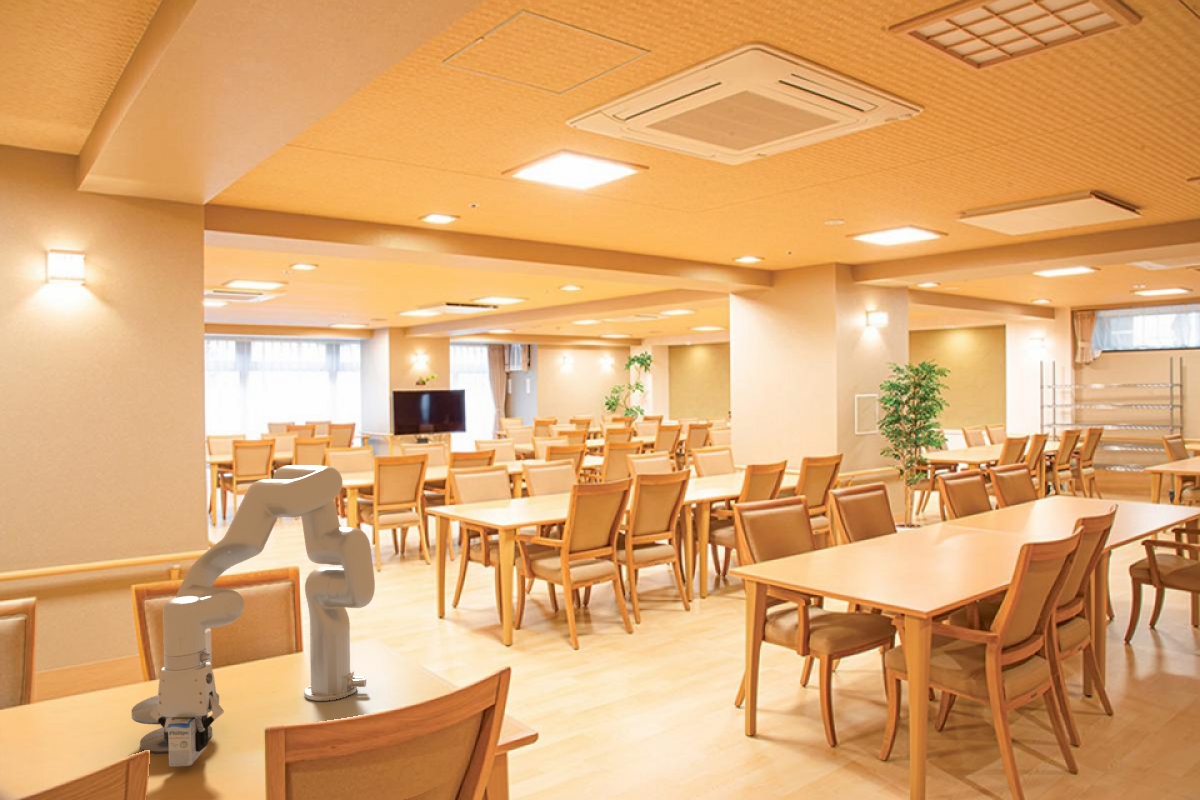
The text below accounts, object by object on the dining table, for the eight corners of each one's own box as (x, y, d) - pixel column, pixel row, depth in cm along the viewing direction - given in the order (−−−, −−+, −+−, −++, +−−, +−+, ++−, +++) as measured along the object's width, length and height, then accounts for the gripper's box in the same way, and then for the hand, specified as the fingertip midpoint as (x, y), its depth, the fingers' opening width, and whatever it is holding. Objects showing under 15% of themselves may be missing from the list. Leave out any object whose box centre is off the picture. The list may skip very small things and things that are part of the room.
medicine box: (185, 749, 169) (184, 707, 168) (207, 748, 169) (206, 706, 169) (168, 767, 161) (167, 723, 160) (191, 766, 161) (190, 722, 161)
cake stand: (234, 724, 186) (233, 689, 186) (194, 757, 169) (193, 718, 169) (161, 724, 187) (160, 689, 187) (114, 756, 170) (113, 718, 170)
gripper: (235, 652, 168) (238, 740, 168) (154, 653, 168) (157, 740, 169) (217, 665, 160) (220, 757, 161) (132, 666, 161) (135, 757, 161)
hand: (188, 747), depth 165 cm, fingers closed on medicine box, 4 cm apart
